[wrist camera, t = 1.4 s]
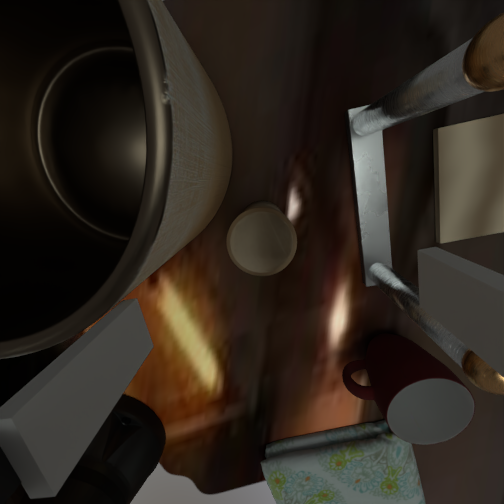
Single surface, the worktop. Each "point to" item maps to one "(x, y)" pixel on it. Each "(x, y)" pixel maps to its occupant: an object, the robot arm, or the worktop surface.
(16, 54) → the planter
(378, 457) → the towel
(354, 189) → the grey piece
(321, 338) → the worktop surface
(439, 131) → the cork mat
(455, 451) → the worktop surface
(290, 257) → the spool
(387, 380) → the mug
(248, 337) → the worktop surface
